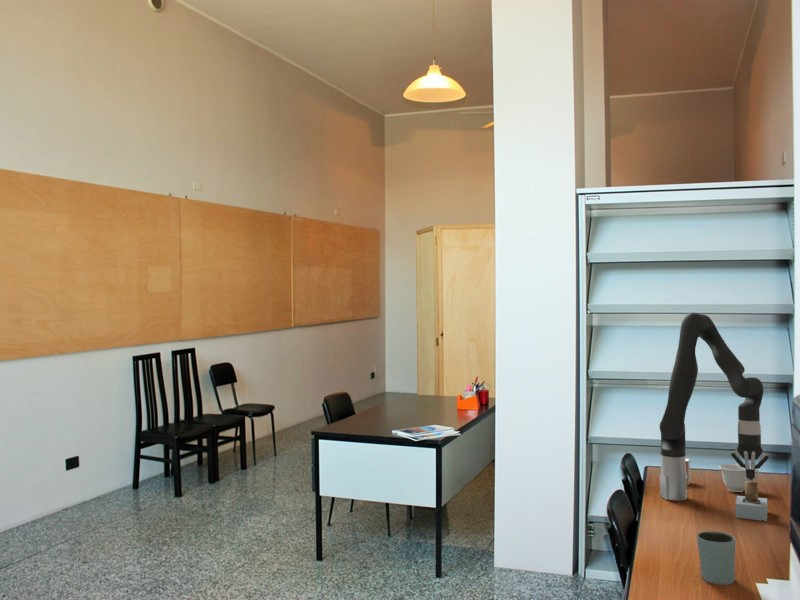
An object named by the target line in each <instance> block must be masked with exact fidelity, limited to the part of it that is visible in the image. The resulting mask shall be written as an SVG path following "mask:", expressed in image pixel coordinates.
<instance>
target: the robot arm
mask: <svg viewBox="0 0 800 600" xmlns="http://www.w3.org/2000/svg"><path fill="white" fill-rule="evenodd" d="M699 338H700V339H701V340H702V341H703V342H705V343H706V344H707V347H709V348H710V350H711V353H712V356H713V359H714V362H715V363H716V364H717V366H718V367H719V368H720V370H721V371H722V373H723V374H724V376H725V377H726V378H727V381H728V384H729V386H730V387H731V390H732V391H733V393H734V394H735V395H736V396H738V397H740V398H744V401H743V402H742V403H741V404H739V405H738V407H737V408H738V409H737V411H738V412H737V415H738V417H737V418H738V420H737V421H738V422H737V441H738V442H737V447H736V450H734V451H732V452H731V453H730V455H731V457H732V458H733V460H735V462H736V464H739V465H740V466H741V467H743V468H745V469H746V477H747V478H748V481H749V480H750V479H751V480H753V478H755V477H756V473H755V469H757V470H758V469H761V467H762V466H763V465H764V464H765V463H766V462H767V461H768V460H769V458H770V455H769V454H767V453H765V452H764V450H763V448H762V436H761V435H762V431H761V429H762V428H761V421H760V420H761V419H760V416H761V415H760V407H761V405H762V400H763V397H764V386H763V382H762V380H760V379H759V378H757V377H751V376H750V377H745V376H744V373H745V366H744V365H743V364H742V363H741V361H740V359H738V358H737V356H736V355H735V354H734V353H733V352H732V350H731V349H730V348H729V346H728V344H727V343H726V341H725V340H724V339H723V337H722V335H721V334H720V332H719V330H718V329H717V327H716V324H715V323H714V321H713V320H712V318H710V316H708V315H706V314H702V313H696V312H689V313H688V314H687V313H686V315H684V317H683V319H682V320H681V323H680V331H679V338H678V345H677V351H676V356H675V359H674V360H675V361H674V365H673V367H672V371H671V372H672V373H671V375H670V381H669V382H670V383H669V388H668V397H667V402H666V407H665V410H664V412H663V416H662V419H661V421H660V422H659V431H660V441H661V442H660V463H661V465H660V466H661V467H660V468H661V472H659V496H660V497H661V498H663V499H664V500H665V501H677V502H679V501H680V502H681V501H685V500H687V499H688V497H687V495H688V493H687V492H688V491H687V485H686V459H687V458H686V445H687V444H686V424H685V419H686V413H687V407H688V405H689V402H690V400H691V398H692V395H693V392H694V388H695V386H696V382H697V378H698V374H699V367H698V366H699V365H698V361H697V356H696V348H697V343H698V339H699ZM739 455H740V457H741V458H742V459H743V460H744V462H743V461H742V460H741V458H740V457H739ZM760 456H761V457H760ZM759 457H760V458H761V459H760V460H759V461H758V462H757V463H756V460H758V459H759ZM750 467H751V469H750ZM753 481H754V480H753Z"/></svg>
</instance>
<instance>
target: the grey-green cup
mask: <svg viewBox="0 0 800 600" xmlns="http://www.w3.org/2000/svg"><path fill="white" fill-rule="evenodd" d="M696 541H697V546H698V555H699V557H698V558H699V565H700V573H701V574H700V575H701V578H702V580H704V581H705V582H708V583H710V584H713V585H720V586H721V585H722V586H726V585H732V584H734V583H735V579H736V577H735V575H736V573H735V566H736V565H735V564H736V562H735V559H736V558H735V557H736V537H735V536H734V535H732V534H730V533H726V532H723V531H712V530H710V531H709V530H708V531H701V532H698V533H697V534H696Z"/></svg>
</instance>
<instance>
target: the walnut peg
mask: <svg viewBox="0 0 800 600" xmlns="http://www.w3.org/2000/svg"><path fill="white" fill-rule="evenodd" d="M758 485H759V484H758V482H757V481H756V480H753V481H749V480H748V481H745V488H744V496H745V503H755V504H758V498H759V493H758V492H759V489H758Z"/></svg>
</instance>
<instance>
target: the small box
mask: <svg viewBox="0 0 800 600" xmlns="http://www.w3.org/2000/svg"><path fill="white" fill-rule="evenodd" d="M685 459H686V486H688V485H689V486H690V484H691V469H690V467H691V465H690V463H691V462H690V461H691V459H690V458H685Z"/></svg>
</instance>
